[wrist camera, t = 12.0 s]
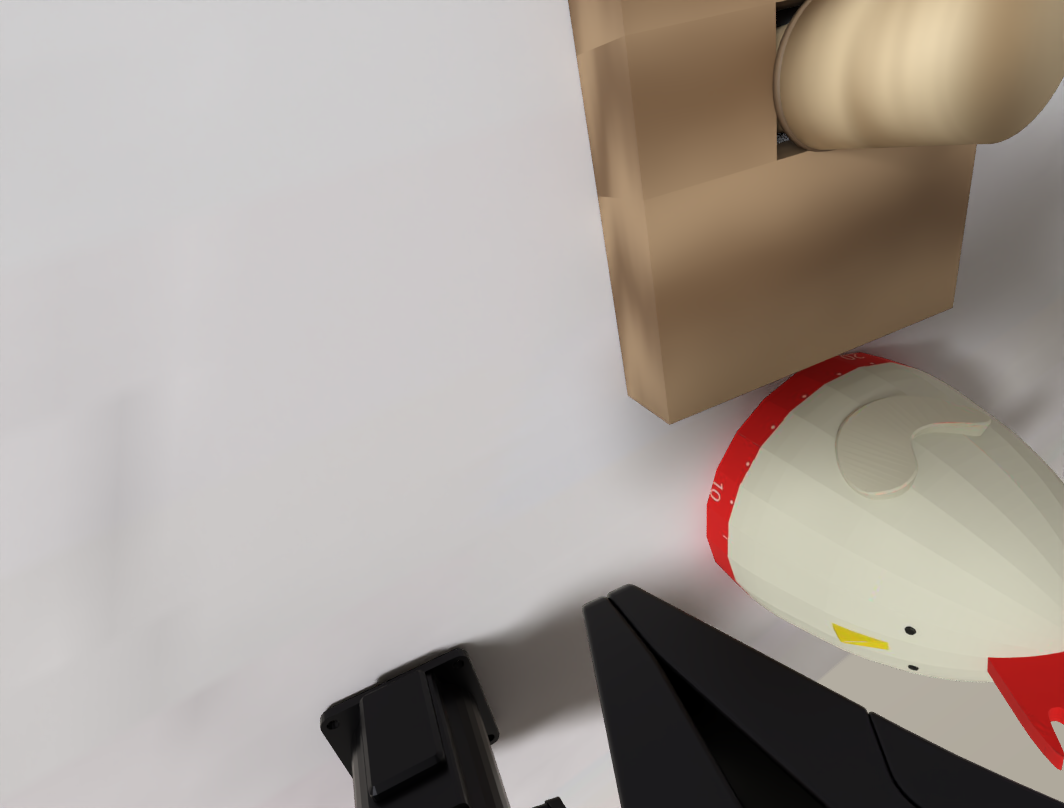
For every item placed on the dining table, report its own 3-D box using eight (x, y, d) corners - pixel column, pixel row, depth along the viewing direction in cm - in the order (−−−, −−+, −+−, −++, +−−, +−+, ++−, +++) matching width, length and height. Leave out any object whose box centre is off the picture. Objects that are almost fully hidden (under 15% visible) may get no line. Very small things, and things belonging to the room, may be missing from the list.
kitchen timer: (675, 448, 25) (1076, 753, 12) (907, 301, 27) (1474, 425, 14) (737, 626, 32) (1035, 942, 19) (918, 499, 33) (1303, 707, 20)
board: (887, 293, 26) (952, 307, 23) (628, 395, 23) (669, 424, 20) (928, -163, 18) (1030, -216, 16) (551, -107, 15) (602, -164, 13)
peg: (817, -4, 19) (1111, -103, 12) (814, 138, 21) (1062, 123, 14) (708, 19, 18) (960, -73, 11) (715, 167, 20) (932, 166, 13)
